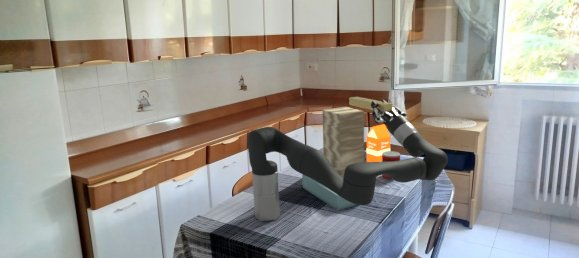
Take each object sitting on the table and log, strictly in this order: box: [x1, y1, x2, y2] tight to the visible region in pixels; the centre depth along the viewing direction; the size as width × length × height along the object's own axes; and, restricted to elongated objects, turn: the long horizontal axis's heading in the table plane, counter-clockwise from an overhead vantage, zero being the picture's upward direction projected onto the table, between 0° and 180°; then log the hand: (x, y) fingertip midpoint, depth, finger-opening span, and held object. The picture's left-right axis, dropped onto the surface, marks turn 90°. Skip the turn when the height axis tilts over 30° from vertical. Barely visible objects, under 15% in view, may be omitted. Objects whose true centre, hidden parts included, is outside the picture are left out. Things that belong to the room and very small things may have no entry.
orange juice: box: [365, 123, 391, 162], centre depth 204 cm, size 8×9×20 cm
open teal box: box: [301, 174, 358, 211], centre depth 169 cm, size 28×11×6 cm, turn 26°
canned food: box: [381, 150, 401, 180], centre depth 187 cm, size 8×8×11 cm
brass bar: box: [348, 96, 394, 113], centre depth 161 cm, size 22×4×3 cm, turn 26°
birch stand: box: [322, 106, 365, 178], centre depth 182 cm, size 14×12×32 cm
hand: (377, 102), depth 157 cm, fingers closed on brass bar, 4 cm apart
